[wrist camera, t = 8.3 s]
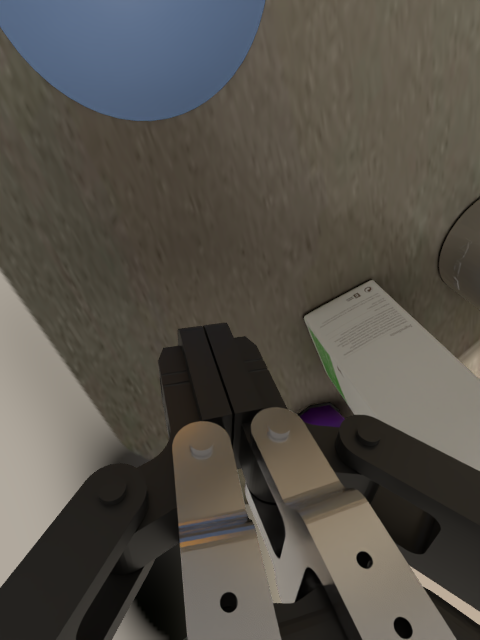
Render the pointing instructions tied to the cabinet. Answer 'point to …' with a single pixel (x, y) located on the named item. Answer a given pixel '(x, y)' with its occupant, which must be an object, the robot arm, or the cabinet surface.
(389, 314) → the skincare box
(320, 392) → the cabinet surface
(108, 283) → the cabinet surface
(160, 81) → the disc
